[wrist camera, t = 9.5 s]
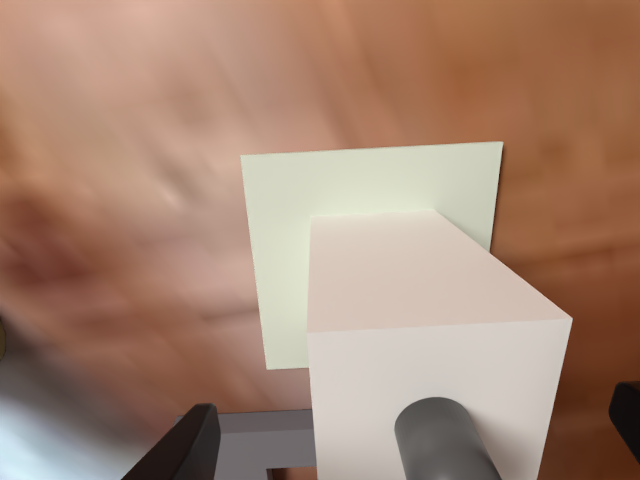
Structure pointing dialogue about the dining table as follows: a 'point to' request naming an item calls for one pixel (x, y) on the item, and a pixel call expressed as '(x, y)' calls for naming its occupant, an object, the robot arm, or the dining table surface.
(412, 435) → the plug
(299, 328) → the mat
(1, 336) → the olive green tapered block
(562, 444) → the dining table surface
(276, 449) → the gray rectangular frame
